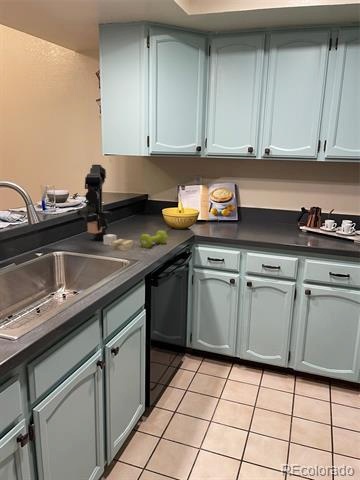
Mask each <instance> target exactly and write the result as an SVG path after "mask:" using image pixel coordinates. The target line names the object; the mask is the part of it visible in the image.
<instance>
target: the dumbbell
mask: <svg viewBox="0 0 360 480" xmlns="http://www.w3.org/2000/svg"><path fill="white" fill-rule="evenodd" d="M167 241H168V234H167V231H165V230H158V231H157V232H156V233H155V235H153V236H151V234H149V233H143V234H141V236H140V238H139V243H140V246H141V247H142V248H144V249H149V248H151V247H152V244H153V243H154V242H156V243H157V244H160V245H161V244H162V245H164V244H166V242H167Z"/></svg>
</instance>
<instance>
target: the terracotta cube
mask: <svg viewBox="0 0 360 480" xmlns="http://www.w3.org/2000/svg"><path fill="white" fill-rule="evenodd" d="M100 232H102V227H101V229H100V231H98V228H97V222H95V221H93V222H89V223H87V233H89V234H90V233H91V234H93V233H95V234H96V233H100Z"/></svg>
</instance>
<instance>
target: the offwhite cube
mask: <svg viewBox="0 0 360 480" xmlns="http://www.w3.org/2000/svg"><path fill="white" fill-rule="evenodd" d="M103 239H104V240H103V245H105V246H111V247H112V242H113V241H116V240H118V239H117V235H116V234H112V233H111V234H110V233H109V234H106V235H104V236H103Z"/></svg>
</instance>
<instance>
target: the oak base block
mask: <svg viewBox="0 0 360 480" xmlns="http://www.w3.org/2000/svg"><path fill="white" fill-rule="evenodd" d="M133 248H134V240H131V239H123V238H120V239H117V240H116V241H113V242H112V245H111V249H112V250H116V251H117V250H118V251H123V252H125V251H128V250H131V249H133Z"/></svg>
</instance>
